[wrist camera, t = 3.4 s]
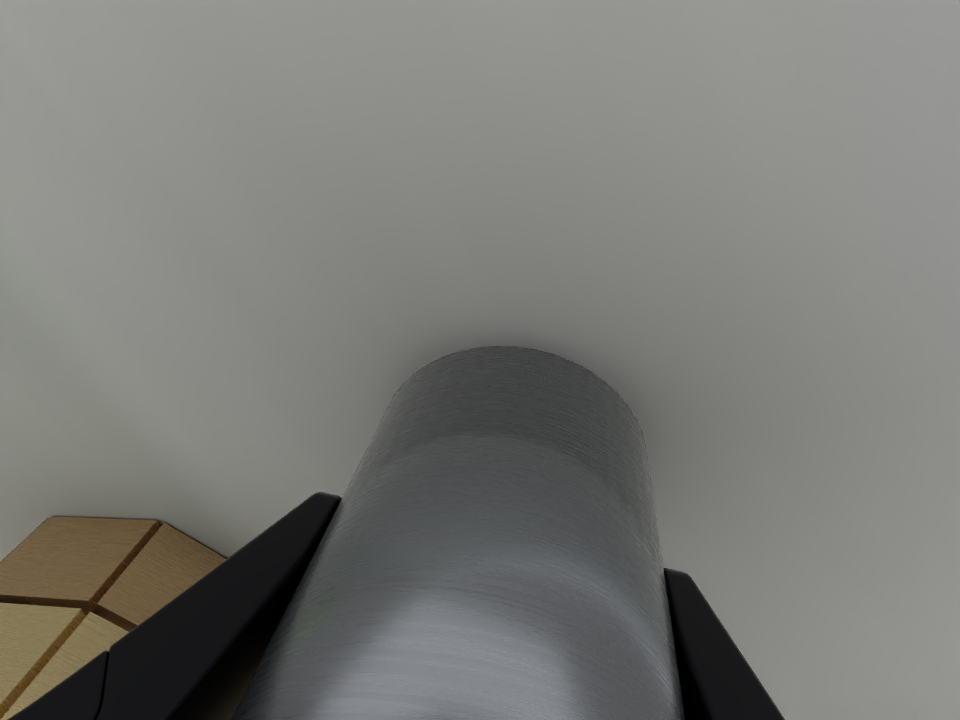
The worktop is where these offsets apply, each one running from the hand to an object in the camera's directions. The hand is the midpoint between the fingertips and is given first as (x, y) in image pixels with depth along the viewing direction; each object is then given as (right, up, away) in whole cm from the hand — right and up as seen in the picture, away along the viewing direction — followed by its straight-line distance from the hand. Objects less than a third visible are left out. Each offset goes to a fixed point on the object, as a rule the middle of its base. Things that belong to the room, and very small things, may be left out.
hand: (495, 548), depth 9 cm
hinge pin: (0, +1, +2) cm, 2 cm away
